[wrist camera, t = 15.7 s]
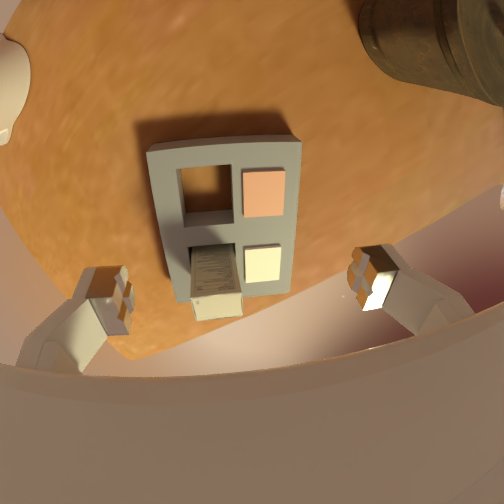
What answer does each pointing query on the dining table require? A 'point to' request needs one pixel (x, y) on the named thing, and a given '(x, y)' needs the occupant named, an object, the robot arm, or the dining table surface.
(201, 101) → the dining table surface
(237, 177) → the socket plate
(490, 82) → the brown metal canister
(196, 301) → the skincare box
